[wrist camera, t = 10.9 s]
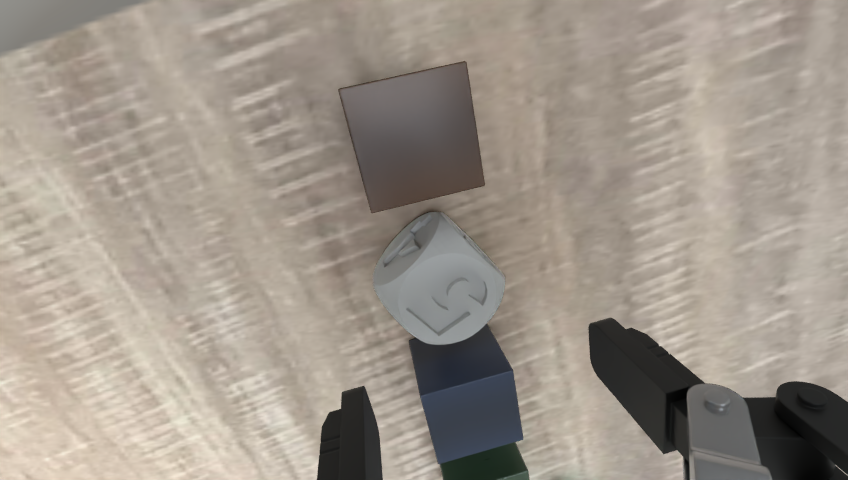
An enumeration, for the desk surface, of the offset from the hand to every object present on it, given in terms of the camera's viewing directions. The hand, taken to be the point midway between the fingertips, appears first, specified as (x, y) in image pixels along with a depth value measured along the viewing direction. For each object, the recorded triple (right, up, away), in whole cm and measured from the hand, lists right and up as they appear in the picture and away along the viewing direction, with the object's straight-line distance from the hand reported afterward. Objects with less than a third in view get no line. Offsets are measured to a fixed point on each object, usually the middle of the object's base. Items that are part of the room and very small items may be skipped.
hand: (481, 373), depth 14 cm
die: (-2, +4, +10) cm, 11 cm away
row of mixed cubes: (-1, 0, +11) cm, 11 cm away
